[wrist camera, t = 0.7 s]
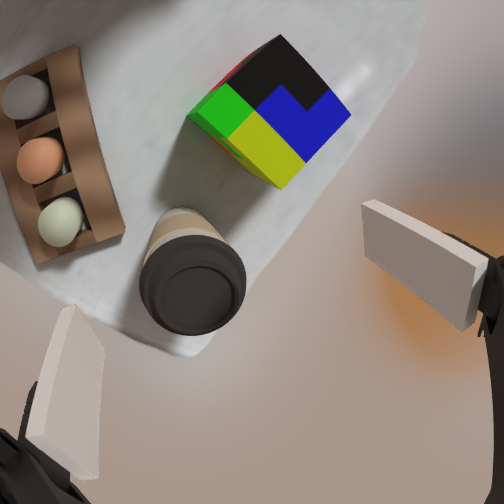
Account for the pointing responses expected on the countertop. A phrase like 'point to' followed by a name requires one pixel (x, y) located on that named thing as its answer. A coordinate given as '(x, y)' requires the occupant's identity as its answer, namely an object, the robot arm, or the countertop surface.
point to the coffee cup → (191, 275)
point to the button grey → (25, 97)
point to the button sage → (60, 221)
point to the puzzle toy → (271, 112)
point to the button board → (78, 151)
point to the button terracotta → (40, 159)
